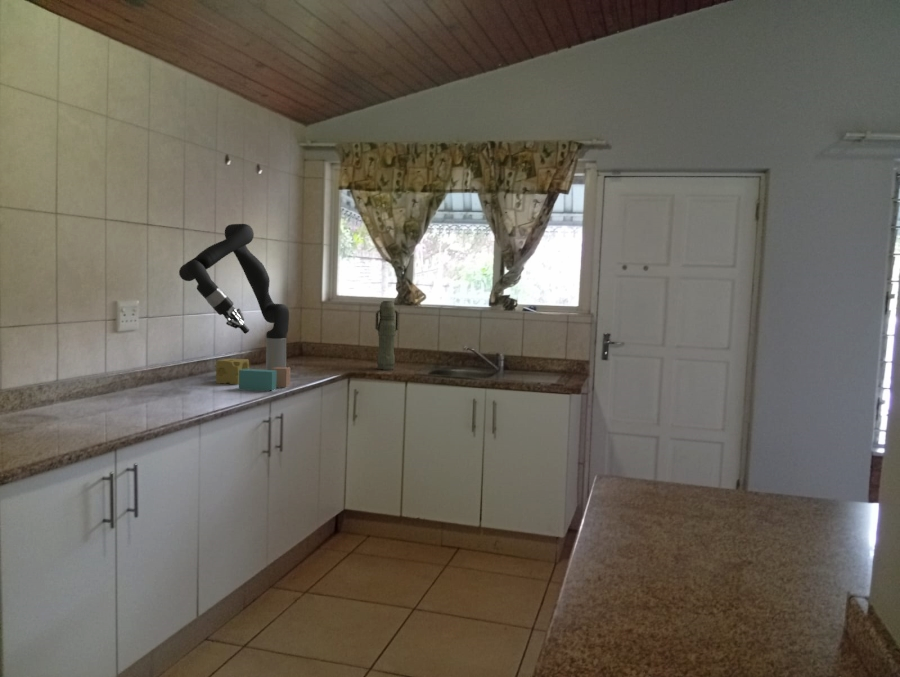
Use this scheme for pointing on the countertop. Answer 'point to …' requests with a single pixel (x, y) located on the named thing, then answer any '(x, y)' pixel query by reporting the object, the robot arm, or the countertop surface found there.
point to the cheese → (230, 370)
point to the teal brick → (257, 379)
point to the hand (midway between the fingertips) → (247, 331)
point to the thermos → (386, 335)
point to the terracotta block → (282, 376)
